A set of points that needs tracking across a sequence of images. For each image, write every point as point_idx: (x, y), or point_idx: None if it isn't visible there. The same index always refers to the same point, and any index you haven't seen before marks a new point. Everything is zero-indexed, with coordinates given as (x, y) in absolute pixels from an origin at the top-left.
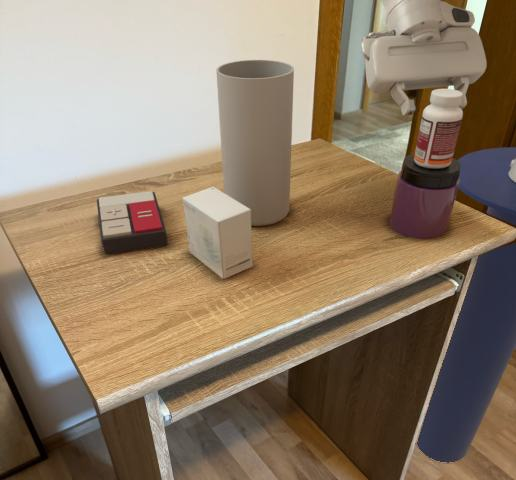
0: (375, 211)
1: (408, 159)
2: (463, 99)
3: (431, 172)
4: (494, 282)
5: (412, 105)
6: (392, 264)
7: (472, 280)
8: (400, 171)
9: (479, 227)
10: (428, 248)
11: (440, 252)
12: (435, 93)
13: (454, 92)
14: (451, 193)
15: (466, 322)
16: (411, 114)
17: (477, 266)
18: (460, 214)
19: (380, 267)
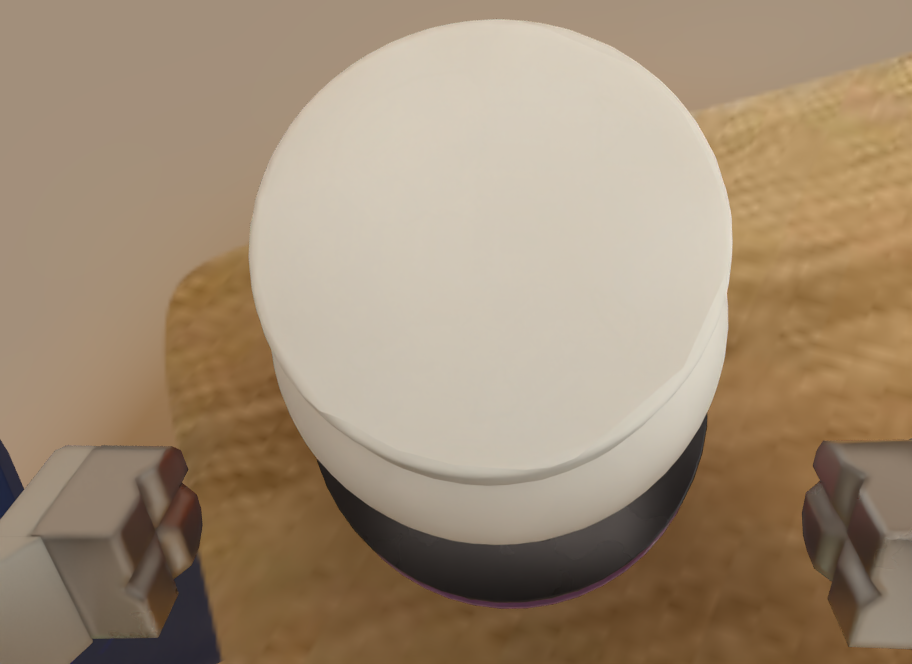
0: (655, 639)
1: (637, 506)
2: (77, 477)
3: None
4: None
5: (892, 463)
6: (772, 169)
7: (126, 641)
8: (637, 559)
9: (259, 337)
10: None
11: None
12: (696, 235)
13: (369, 203)
14: None
15: (196, 586)
16: (803, 511)
17: (94, 651)
18: (260, 472)
19: (830, 161)
